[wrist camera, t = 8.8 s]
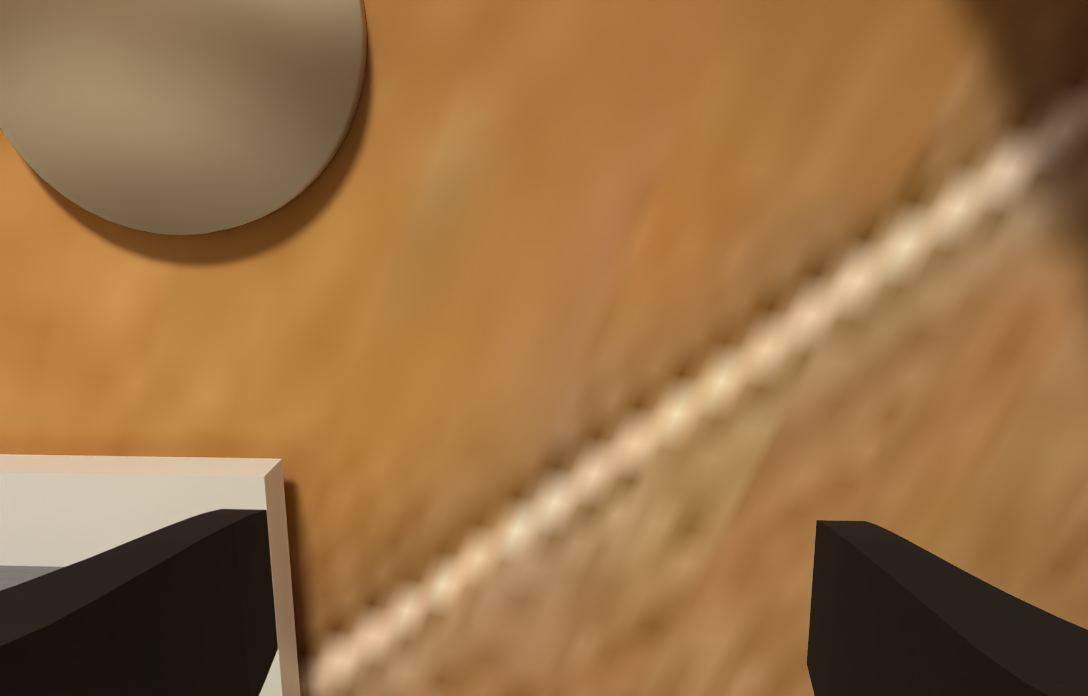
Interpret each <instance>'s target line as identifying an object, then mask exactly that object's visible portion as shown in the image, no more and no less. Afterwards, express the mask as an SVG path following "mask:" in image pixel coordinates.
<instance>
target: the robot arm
mask: <svg viewBox="0 0 1088 696" xmlns="http://www.w3.org/2000/svg"><path fill="white" fill-rule="evenodd" d="M277 650H278V641H277V629H276V617H275V605H274V593H273V581H272V569H271V557H270V545H269V533H268V521H267V510H254V509H219V510H215V511H210V512H206V513H203V514H199V515H196V516H193V517H190V518H188V519H185V520H182V521H179V522H177V523H174V524H172V525H169V526H166V527H164V528H161V529H159V530H156V531H154V532H151V533H149V534H146V535H144V536H142V537H139V538H137V539H134V540H132V541H129V542H127V543H124V544H122V545H119V546H117V547H115V548H112V549H110V550H107V551H105V552H102V553H100V554H97V555H95V556H92V557H90V558H87V559H85V560H82V561H79V562H77V563H74V564H71V565H69V566H66V567H63V568H61V569H58V570H55V571H53V572H50V573H47V574H45V575H42V576H39V577H37V578H34V579H31V580H29V581H26V582H23V583H21V584H18V585H15V586H12V587H10V588H7V589H4V590H1V591H0V696H259V694H260V692H261V690H262V687H263V685H264V683H265V680H266V678H267V675H268V673H269V670H270V668H271V665H272V663H273V660H274V657H275V655H276V652H277ZM807 666H808V670H809V674H810V678H811V682H812V686H813V690H814V695H815V696H1088V630H1086V629H1084V628H1082V627H1079V626H1077V625H1075V624H1072V623H1070V622H1068V621H1065V620H1063V619H1061V618H1058V617H1056V616H1054V615H1052V614H1050V613H1048V612H1046V611H1044V610H1041V609H1039V608H1037V607H1035V606H1033V605H1031V604H1029V603H1027V602H1024V601H1022V600H1020V599H1018V598H1016V597H1014V596H1012V595H1010V594H1008V593H1006V592H1004V591H1002V590H1000V589H998V588H996V587H994V586H992V585H990V584H988V583H986V582H984V581H982V580H980V579H978V578H976V577H975V576H973V575H971V574H969V573H967V572H965V571H963V570H961V569H960V568H958V567H956V566H954V565H952V564H950V563H948V562H947V561H945V560H943V559H941V558H939V557H937V556H936V555H934V554H932V553H930V552H928V551H926V550H925V549H923V548H921V547H919V546H917V545H915V544H914V543H912V542H910V541H908V540H906V539H904V538H902V537H900V536H898V535H896V534H894V533H892V532H891V531H888V530H886V529H884V528H882V527H880V526H877V525H875V524H872V523H869V522H866V521H823V520H817V525H816V539H815V554H814V568H813V583H812V597H811V612H810V626H809V641H808V655H807Z"/></svg>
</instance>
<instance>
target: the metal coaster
mask: <svg viewBox="0 0 1088 696" xmlns="http://www.w3.org/2000/svg"><path fill="white" fill-rule="evenodd" d="M366 62H367V28H366V19H365V9H364V3H363V0H0V127H1V129H2V131H3V132H4V134H5V136H6V137H7V139H8V140H9V141H10V143H11V144H12V145H13V146H14V148H15V149H16V150H17V152H18V153H19V154H20V156H21V157H22V158H23V159H24V160H25V161H26V162H27V163H28V165H29V166H30V167H31V168H32V169H33V170H34V171H35V172H36V173H37V174H38V175H39V176H40V177H41V178H42V179H43V180H44V181H46V182H47V183H48V184H49V185H51V186H52V187H53V188H54V189H55V190H57V191H58V192H59V193H60V194H62V195H63V196H64V197H66V198H68V199H69V200H71V201H72V202H74V203H75V204H77V205H78V206H80V207H82V208H83V209H85V210H87V211H89V212H91V213H93V214H95V215H97V216H99V217H101V218H103V219H105V220H108V221H110V222H113V223H116V224H119V225H122V226H125V227H128V228H131V229H136V230H141V231H146V232H151V233H156V234H169V235H192V234H206V233H211V232H215V231H220V230H225V229H230V228H234V227H238V226H241V225H244V224H247V223H249V222H252V221H255V220H258V219H260V218H263V217H264V216H266V215H268V214H270V213H272V212H274V211H276V210H278V209H280V208H281V207H283V206H284V205H286V204H287V203H288V202H290V201H291V200H293V199H294V198H295V197H297V196H298V195H300V194H301V193H302V192H303V191H304V190H305V189H306V188H307V187H308V186H309V185H310V184H311V183H312V182H313V181H314V180H315V179H317V178H318V177H319V175H320V174H321V173H322V172H323V170H324V169H325V168H326V166H327V165H328V164H329V163H330V161H331V160H332V159H333V157H334V156H335V154H336V152H337V151H338V149H339V147H340V146H341V144H342V142H343V140H344V139H345V137H346V135H347V133H348V130H349V128H350V126H351V123H352V121H353V118H354V116H355V114H356V111H357V107H358V103H359V100H360V96H361V92H362V89H363V84H364V76H365V69H366Z"/></svg>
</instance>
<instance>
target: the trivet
mask: <svg viewBox="0 0 1088 696" xmlns="http://www.w3.org/2000/svg"><path fill="white" fill-rule="evenodd" d="M219 509H254V510H267V521H268V533H269V545H270V557H271V569H272V581H273V593H274V605H275V617H276V629H277V641H278V650H277V652H276V655H275V657H274V660H273V663H272V665H271V668H270V670H269V673H268V675H267V678H266V680H265V683H264V685H263V687H262V690H261V692H260V694H259V696H300V684H299V672H298V659H297V646H296V633H295V620H294V607H293V595H292V582H291V569H290V556H289V543H288V530H287V518H286V505H285V492H284V479H283V466H282V459H264V458H201V457H137V456H74V455H10V454H0V565H2V566H49V567H66V566H69V565H71V564H74V563H77V562H79V561H82V560H85V559H87V558H90V557H92V556H95V555H97V554H100V553H102V552H105V551H107V550H110V549H112V548H115V547H117V546H119V545H122V544H124V543H127V542H129V541H132V540H134V539H137V538H139V537H142V536H144V535H146V534H149V533H151V532H154V531H156V530H159V529H161V528H164V527H166V526H169V525H172V524H174V523H177V522H179V521H182V520H185V519H188V518H190V517H193V516H196V515H199V514H203V513H206V512H210V511H215V510H219Z"/></svg>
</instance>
